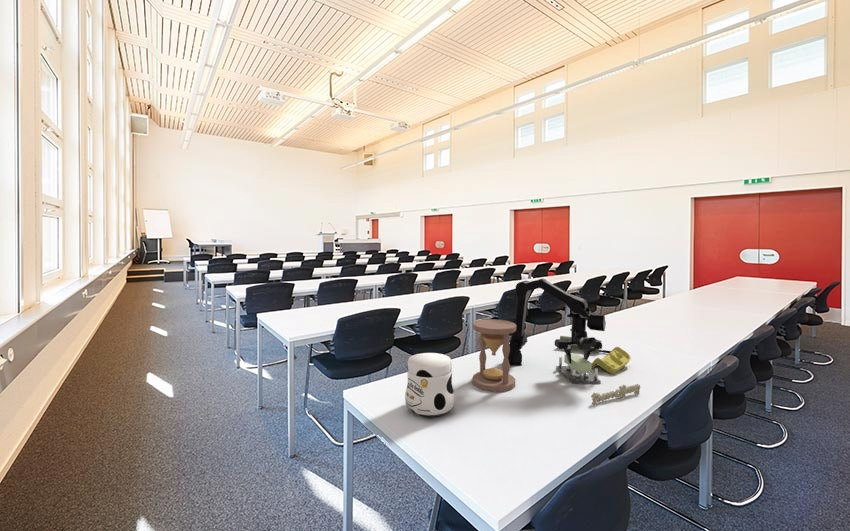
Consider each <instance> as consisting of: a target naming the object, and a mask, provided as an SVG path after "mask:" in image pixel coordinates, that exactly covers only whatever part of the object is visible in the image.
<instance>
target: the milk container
mask: <svg viewBox="0 0 850 531" xmlns="http://www.w3.org/2000/svg"><path fill="white" fill-rule="evenodd" d="M452 365H453V364H452V359H451V358H450V356H448V355H446V354H443V353H437V352H423V353H416V354H413V355H411V356H410V357H408V360H407V367H406V368H407V373H406V374H407V385H406V387H405V388H406V390H405V394H404V397H405V398H404V399H405V405H406V408H407V409H408V411H410V412H411V413H413V414H415V415H418V416H421V417H431V418H432V417H439V416H443V415H445V414H446V413H449V412H450V411H451V410H452V408H453V407H454V403H455V391H454V388H453V387H454V386H453V382H452V381H453V370H452V368H453V367H452Z"/></svg>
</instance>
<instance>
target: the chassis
mask: <svg viewBox="0 0 850 531" xmlns="http://www.w3.org/2000/svg"><path fill="white" fill-rule="evenodd" d="M558 359H559V360H558V365H556V370H558V371H559V373H561V375H562V376H564V377H565V378H566V379H567V381H568V382H570V383H571V384H574V385H575V384H577V385H578V384H601V383H602V382H601V380H600V379H599V378H598V374H599V372H598V371H599V369H598V368H594V372H593V373H594V374H593V373H591V371H586V372H577V371H576V369H573V368H572V367H570V366H569V365H568V364H566V365H563V357H562V356H559V357H558Z"/></svg>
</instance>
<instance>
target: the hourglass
mask: <svg viewBox="0 0 850 531" xmlns="http://www.w3.org/2000/svg"><path fill="white" fill-rule="evenodd" d="M472 329H473V330H474V331H475V332H478V333H480V334H479V335H480V336H479V346H480V353H479V355H478V356H479V371H478V372H476V373H474V374H473V376H472V378H471V379H472V380H471V383H473V386H475V387H476V388H478V389H480V390H483V391H486V392H487V391H488V392H496V393H497V392H498V393H499V392H508V391H510V390H512V389H514V388H515V387H516V378H515V377H514V376H513V375H511V374H510V366H511V365H510V364H509V360H508V356H509V352H510V345H509V344H510V334H513V332H515V331H516V324H515V322H513V321H510V320H505V319H494V318H493V319H492V318H487V319H478V320H475V321H473V323H472ZM486 346H487V347H488V348H489V350H490V352H491V356H493V357H494V356H496V355H497V351H499V349H500V348H501V347H502V349H501V350H502V355H503V360H502V364H501V369H499V368H498V367H497V368H496V367H490V368H486V363H487V353H486V348H487V347H486Z"/></svg>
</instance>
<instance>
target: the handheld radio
mask: <svg viewBox="0 0 850 531" xmlns="http://www.w3.org/2000/svg"><path fill="white" fill-rule="evenodd" d="M559 336H560V337H559V339H564V340H566V341H567V342H571V340H570V338H571V336H566V335H559ZM597 340H598V341H600V342H601V343H602V340H600V339H597ZM570 349H572V351H578V350H580V349H579V348H578V346H570ZM611 351H612V350H605V349H596V350H595V351H593V352H592V353H594V354H600V353H603V354H609V353H610V352H611ZM579 352H584V350H580V351H579Z"/></svg>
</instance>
